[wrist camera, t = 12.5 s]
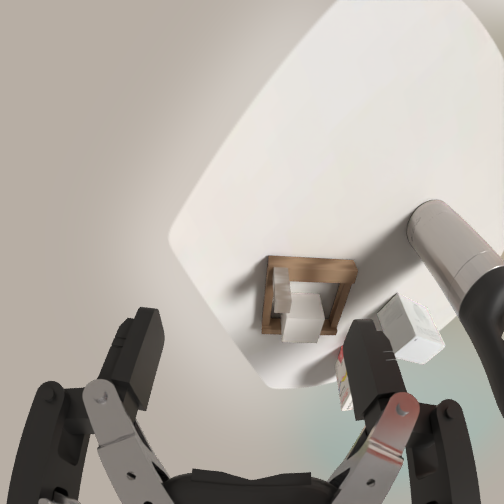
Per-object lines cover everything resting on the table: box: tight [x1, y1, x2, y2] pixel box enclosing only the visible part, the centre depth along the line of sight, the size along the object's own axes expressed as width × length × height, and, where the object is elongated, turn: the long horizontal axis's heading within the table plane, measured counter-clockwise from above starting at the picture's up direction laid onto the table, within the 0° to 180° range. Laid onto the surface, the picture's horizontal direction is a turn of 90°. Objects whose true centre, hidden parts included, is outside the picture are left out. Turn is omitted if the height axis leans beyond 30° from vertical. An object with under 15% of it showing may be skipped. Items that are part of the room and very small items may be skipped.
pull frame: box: [262, 256, 358, 335], centre depth 43 cm, size 13×15×10 cm
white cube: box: [281, 293, 325, 343], centre depth 47 cm, size 6×6×6 cm
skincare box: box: [377, 293, 445, 365], centre depth 46 cm, size 10×6×10 cm, turn 64°
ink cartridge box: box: [335, 346, 354, 411], centre depth 52 cm, size 9×5×15 cm, turn 3°
